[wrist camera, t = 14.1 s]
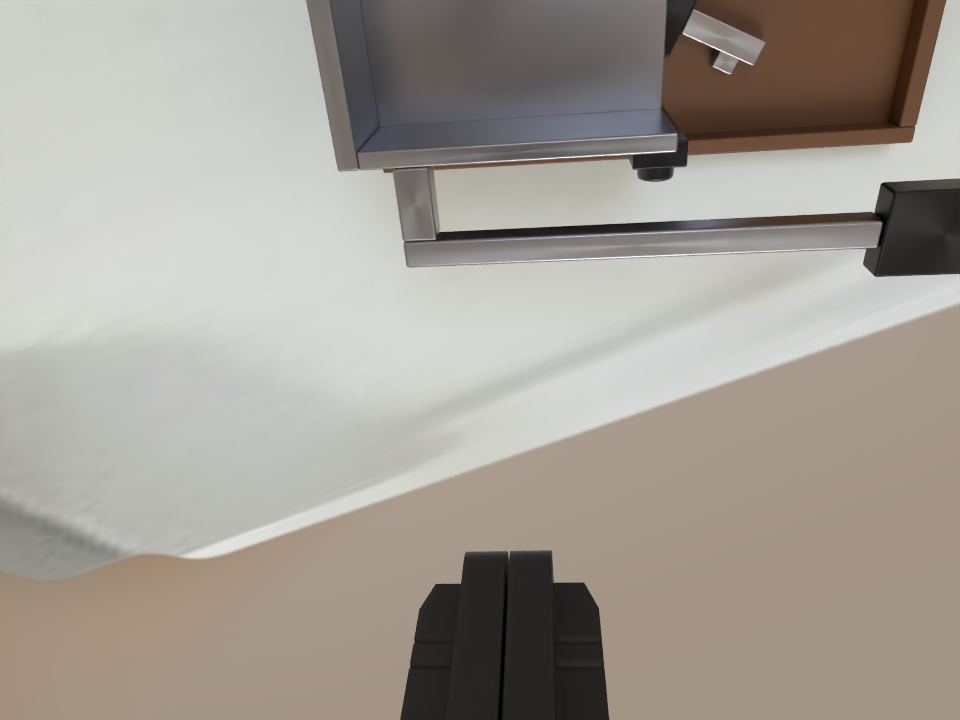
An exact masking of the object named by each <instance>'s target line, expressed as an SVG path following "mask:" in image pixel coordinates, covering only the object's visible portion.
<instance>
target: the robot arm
mask: <svg viewBox="0 0 960 720" xmlns="http://www.w3.org/2000/svg"><path fill="white" fill-rule="evenodd" d="M509 559H510V560H509ZM552 563H553V562H552V551H510V558H509V557H508V552H507V551H497V552H496V551H491V552H466V553H465V557H464V564H463V572H462V581H461V584H436V585H435V586H434V588H433V589H432V591H431V592H430V594H429V595H428V597H427V599H426V600H425V602H424V603H423V605H422V607H421V608H420V609H419V615H418V621H417V627H416V633H415V638H414V639H415V643H414V645H413V650H412V655H411V661H410V669H409V673H408V678H407V684H406V690H405V696H404V702H403V707H402V713H401V719H400V720H609V714H608V703H607V692H606V681H605V670H604V661H603V649H602V637H601V628H600V627H601V626H600V616H599V608H598V606H597V604H596V603H595V601H594V599H593V597H592V596H591V594H590V593H589V591H588V589H587V587H586V585H585V584H584V583H554V581H553V580H554V579H553V564H552Z"/></svg>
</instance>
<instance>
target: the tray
mask: <svg viewBox="0 0 960 720" xmlns="http://www.w3.org/2000/svg"><path fill="white" fill-rule="evenodd" d="M945 3H946V0H697V1H696V3H695V5H694V7H693V8H695V9H697V10H699V11H701V12H703V13H706V14H708V15H710V16H712V17H714V18H717V19H719V20H721V21H723V22H725V23H728V24H730V25H732V26H734V27H736V28H739V29H741V30H743V31H745V32H747V33H749V34H752V35H754V36H756V37H758V38H760V39H763V40H765V41H766V44H765V46H764V48H763V50H762V52H761V53H760V55H759V57H758V59H757V61H756V62H755V64H754V65H753V66H751V65H748V64H746V63H744V62H742V61H740V60H739V61H738V63H737V64H736V66H735V68H734V70H733V72H732V74H731V75H729V74H727V73H725V72H722V71H720V70H718V69H716V68H713V67H712V66H710V65H709V63H710V61H711V59H712V57H713V55H714V53H715V51H716V50H715V49H713V48H711V47H708V46H706V45H704V44H702V43H699V42H697V41H695V40H693V39H690V38H688V37H686V36H684V35H682V34H680V36H679V38H678V40H677V42H676V44H675V46H674V48H673V50H672V52H671V54H670V56H669V57H665V56H664V73H663V92H662V105H663V106H664V108H665V109H666V110H667V112H668V113H669V114H670V116H671V117H672V119H673V120H674V121H675V123H676V124H677V125H678V127H679V128H680V129H681V131H682V132H683V134H684V135H685V136H686V138H687V139H688V141H689V143H688V155H703V154H720V153H737V152H755V151H772V150H789V149H806V148H824V147H841V146H858V145H876V144H893V143H910V142H912V140H913V135H914V131H915V125H916V123H917V119H918V115H919V111H920V106H921V102H922V98H923V94H924V90H925V86H926V82H927V77H928V73H929V69H930V65H931V61H932V57H933V53H934V48H935V44H936V40H937V36H938V32H939V28H940V24H941V19H942V15H943V11H944V7H945ZM617 159H629V158H628V155H618V156H601V157H584V158H566V159H549V160H532V161H514V162H497V163H480V164H462V165H445V166H433V170H444V169H461V168H478V167H496V166H513V165H530V164H547V163H565V162H582V161H599V160H617ZM393 169H394V168H393ZM393 169H383V171H384V173H392V172H393Z"/></svg>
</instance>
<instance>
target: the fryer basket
mask: <svg viewBox="0 0 960 720" xmlns="http://www.w3.org/2000/svg"><path fill="white" fill-rule="evenodd" d="M306 2H307V7H308V12H309V18H310V23H311V28H312V34H313V39H314V44H315V50H316V55H317V60H318V66H319V71H320V76H321V82H322V87H323V92H324V98H325V103H326V108H327V114H328V119H329V125H330V130H331V135H332V141H333V146H334V151H335V157H336V162H337V167H338V170H339V171H357V170H359V169H360V170H376V169H393V168H394V169H393V176H394V183H395V190H396V197H397V204H398V210H399V217H400V224H401V231H402V238H403V240H404V241H405V242H404V251H405V258H406V265H407V266H408V267H428V266H453V265H477V264H501V263H525V262H550V261H574V260H598V259H622V258H647V257H671V256H695V255H719V254H744V253H768V252H792V251H816V250H841V249H865V248H866V253H865V257H864V262H863V265H864V266H865V267H866V268H867V269H868V270H869V271H870V272H871V273H872V274H873V275H874V276H876V277H884V276H912V275H939V274H960V179H943V180H923V181H904V182H884V183H882V184H881V186H880V191H879V195H878V199H877V204H876V208H875V213H873V212H861V213H839V214H818V215H797V216H775V217H754V218H733V219H711V220H690V221H668V222H647V223H626V224H604V225H583V226H562V227H540V228H519V229H498V230H476V231H455V232H439V231H440V224H439V216H438V207H437V198H436V190H435V181H434V172H433V166H445V165H462V164H480V163H497V162H514V161H532V160H549V159H566V158H584V157H601V156H618V155H635V154H653V153H670V152H676V151H677V148H678V133H677V131H676V130H675V128H674V127H673V125H672V124H671V122H670V121H669V120H668V118H667V117H666V115H665V114H664V112H663V111H662V92H663V73H664V55H665V37H666V19H667V0H306Z"/></svg>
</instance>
